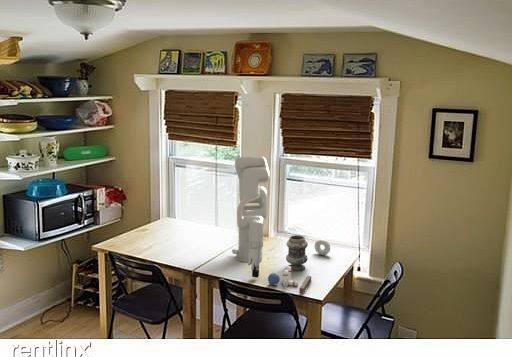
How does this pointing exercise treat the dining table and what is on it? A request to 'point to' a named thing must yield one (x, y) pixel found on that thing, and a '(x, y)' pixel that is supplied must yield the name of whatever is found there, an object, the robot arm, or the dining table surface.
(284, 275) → the pin
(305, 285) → the grey brown bar
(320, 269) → the dining table surface
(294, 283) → the front pin
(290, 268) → the pin
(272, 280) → the ball
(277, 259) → the dining table surface
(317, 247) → the donut
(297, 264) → the grey brown vase
